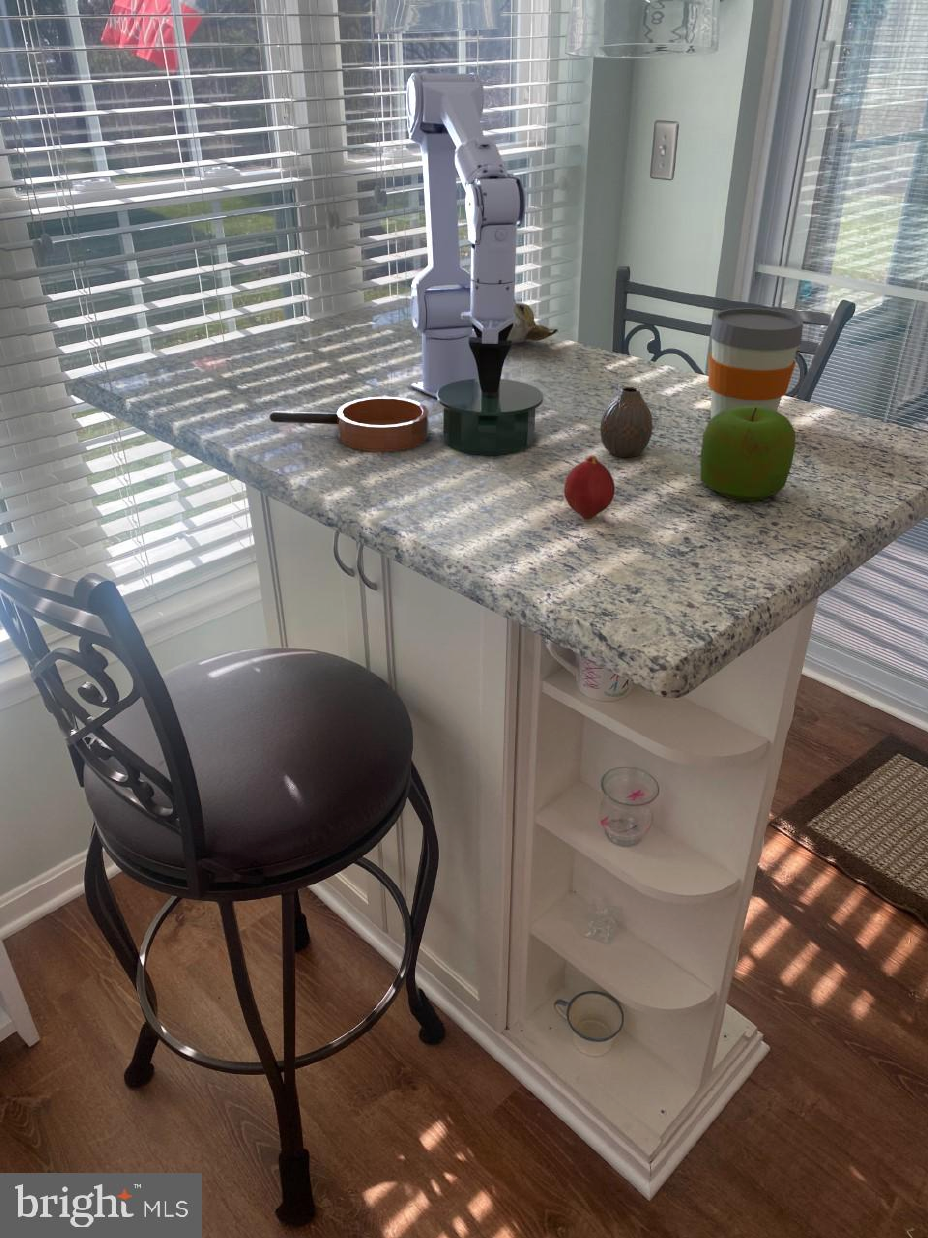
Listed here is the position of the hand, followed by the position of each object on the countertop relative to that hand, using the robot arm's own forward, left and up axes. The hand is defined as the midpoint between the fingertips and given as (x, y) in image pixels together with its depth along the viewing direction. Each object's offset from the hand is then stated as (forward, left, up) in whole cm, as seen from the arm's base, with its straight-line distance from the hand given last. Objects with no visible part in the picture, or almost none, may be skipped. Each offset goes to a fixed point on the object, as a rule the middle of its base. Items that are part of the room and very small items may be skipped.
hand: (490, 382), depth 134 cm
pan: (+11, -10, -8) cm, 17 cm away
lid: (0, 0, -2) cm, 2 cm away
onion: (+7, +27, -8) cm, 29 cm away
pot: (0, 0, -8) cm, 8 cm away
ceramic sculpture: (-35, -35, -8) cm, 50 cm away
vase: (-12, +15, -8) cm, 21 cm away
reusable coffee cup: (-35, +17, -8) cm, 39 cm away
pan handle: (+19, -17, -7) cm, 27 cm away
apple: (-14, +33, -8) cm, 37 cm away
